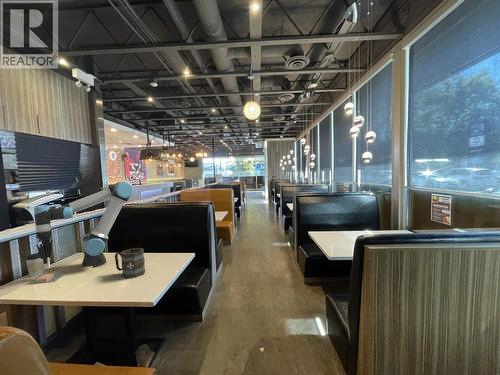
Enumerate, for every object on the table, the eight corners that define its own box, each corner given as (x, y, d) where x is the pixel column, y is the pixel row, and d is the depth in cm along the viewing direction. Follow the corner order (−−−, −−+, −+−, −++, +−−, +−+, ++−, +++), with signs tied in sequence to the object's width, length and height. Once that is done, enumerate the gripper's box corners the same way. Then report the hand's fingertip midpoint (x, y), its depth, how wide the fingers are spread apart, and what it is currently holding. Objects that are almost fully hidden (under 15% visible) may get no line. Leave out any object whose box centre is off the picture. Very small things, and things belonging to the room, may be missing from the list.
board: (68, 274, 171) (67, 272, 171) (54, 283, 156) (54, 281, 156) (40, 277, 169) (40, 275, 168) (24, 287, 153) (23, 285, 153)
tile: (53, 273, 164) (46, 278, 156) (54, 276, 164) (46, 281, 157) (43, 274, 163) (35, 279, 155) (43, 277, 163) (35, 283, 156)
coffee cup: (35, 279, 165) (33, 256, 164) (23, 279, 167) (21, 256, 166) (48, 274, 174) (46, 251, 173) (37, 273, 176) (35, 251, 175)
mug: (150, 270, 169) (148, 248, 169) (136, 279, 156) (134, 254, 155) (124, 269, 174) (122, 247, 173) (108, 277, 161) (106, 253, 160)
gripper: (43, 229, 167) (46, 265, 168) (30, 233, 155) (33, 272, 156) (56, 228, 169) (59, 264, 170) (44, 232, 156) (47, 271, 157)
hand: (47, 268), depth 163 cm, fingers closed
